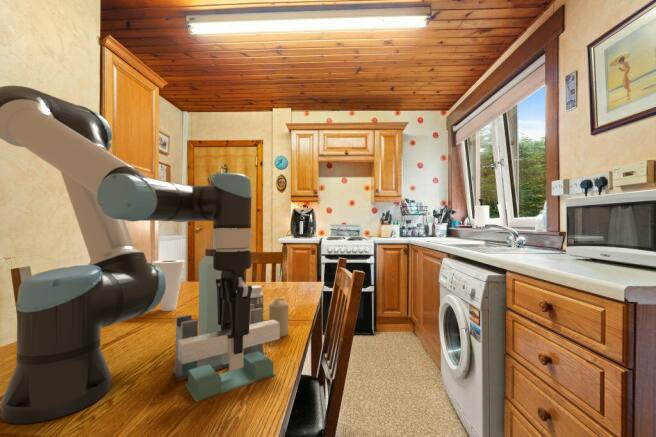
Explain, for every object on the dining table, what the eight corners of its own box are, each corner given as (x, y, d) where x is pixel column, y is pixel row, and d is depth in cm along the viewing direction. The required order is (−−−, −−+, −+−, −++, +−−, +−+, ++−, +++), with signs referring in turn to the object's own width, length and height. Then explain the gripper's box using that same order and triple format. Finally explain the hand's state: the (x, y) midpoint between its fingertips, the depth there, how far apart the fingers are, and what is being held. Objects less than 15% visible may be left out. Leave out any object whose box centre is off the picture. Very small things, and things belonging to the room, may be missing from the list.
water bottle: (224, 345, 82) (224, 250, 82) (190, 343, 84) (190, 249, 84) (242, 333, 92) (242, 247, 92) (211, 330, 94) (211, 246, 94)
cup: (175, 313, 112) (176, 262, 112) (146, 313, 112) (146, 262, 112) (189, 305, 123) (189, 259, 123) (162, 305, 123) (162, 259, 123)
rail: (182, 364, 56) (182, 344, 57) (178, 358, 59) (178, 340, 59) (279, 338, 69) (279, 322, 69) (273, 335, 71) (273, 319, 71)
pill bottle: (266, 314, 111) (266, 286, 111) (254, 318, 106) (255, 288, 106) (255, 311, 114) (255, 284, 114) (243, 315, 109) (243, 287, 109)
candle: (279, 338, 87) (279, 302, 87) (265, 335, 90) (265, 300, 90) (292, 332, 92) (292, 298, 92) (277, 329, 95) (277, 296, 95)
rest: (195, 401, 56) (196, 384, 56) (185, 386, 61) (185, 370, 62) (275, 375, 66) (275, 360, 66) (260, 363, 71) (260, 350, 71)
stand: (179, 381, 63) (179, 323, 63) (172, 371, 68) (173, 317, 68) (264, 356, 75) (264, 308, 75) (254, 349, 79) (254, 303, 80)
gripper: (267, 251, 60) (267, 374, 60) (235, 246, 73) (235, 348, 72) (229, 253, 56) (229, 387, 55) (201, 248, 68) (201, 357, 68)
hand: (232, 365), depth 64 cm, fingers closed on rail, 3 cm apart
